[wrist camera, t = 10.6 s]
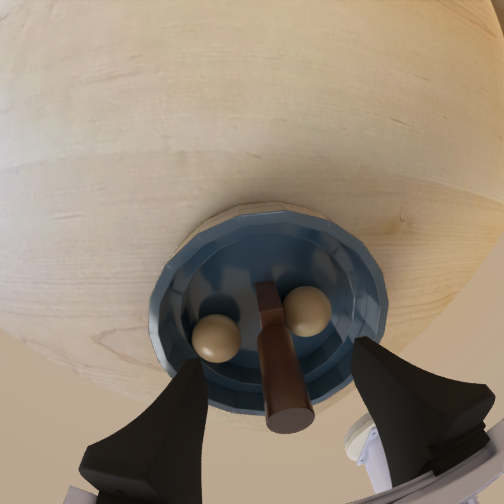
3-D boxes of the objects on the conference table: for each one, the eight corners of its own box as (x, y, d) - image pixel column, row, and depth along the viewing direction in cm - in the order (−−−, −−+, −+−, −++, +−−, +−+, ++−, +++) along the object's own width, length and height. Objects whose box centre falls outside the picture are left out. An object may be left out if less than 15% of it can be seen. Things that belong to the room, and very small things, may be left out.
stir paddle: (283, 328, 17) (313, 440, 9) (256, 332, 17) (270, 447, 9) (279, 279, 16) (316, 385, 8) (249, 283, 16) (261, 395, 8)
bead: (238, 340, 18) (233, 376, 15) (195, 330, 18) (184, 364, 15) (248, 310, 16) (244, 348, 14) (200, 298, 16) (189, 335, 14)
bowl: (352, 362, 20) (370, 395, 16) (189, 382, 19) (182, 419, 16) (362, 193, 16) (395, 202, 12) (147, 215, 15) (121, 230, 12)
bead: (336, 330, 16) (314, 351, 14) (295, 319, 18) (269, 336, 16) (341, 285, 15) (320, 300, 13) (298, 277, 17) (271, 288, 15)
